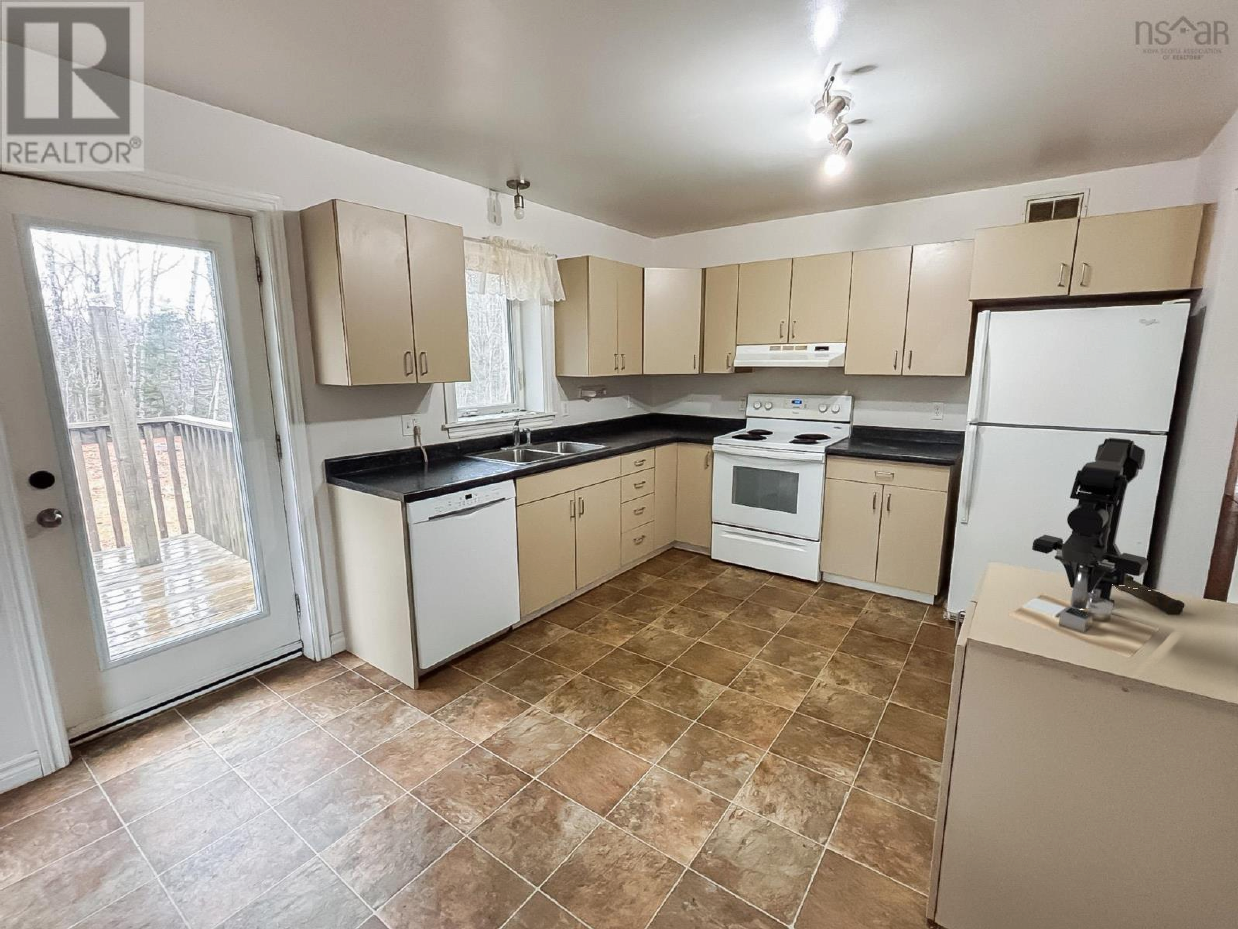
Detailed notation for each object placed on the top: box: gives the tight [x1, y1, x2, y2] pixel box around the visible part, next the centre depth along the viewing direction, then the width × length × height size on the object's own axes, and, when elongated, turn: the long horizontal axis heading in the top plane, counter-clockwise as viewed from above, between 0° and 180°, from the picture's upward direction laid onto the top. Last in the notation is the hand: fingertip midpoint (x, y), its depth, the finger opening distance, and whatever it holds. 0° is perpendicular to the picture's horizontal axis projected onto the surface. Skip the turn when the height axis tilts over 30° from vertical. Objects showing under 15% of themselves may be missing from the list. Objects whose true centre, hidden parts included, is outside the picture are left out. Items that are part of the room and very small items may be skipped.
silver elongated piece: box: [1059, 588, 1114, 634], centre depth 125 cm, size 16×7×6 cm, turn 123°
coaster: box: [1023, 597, 1066, 617], centre depth 132 cm, size 6×6×1 cm
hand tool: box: [1112, 573, 1186, 616], centre depth 139 cm, size 19×4×5 cm, turn 177°
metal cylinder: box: [1070, 563, 1094, 609], centre depth 121 cm, size 3×3×10 cm
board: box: [1007, 593, 1160, 658], centre depth 125 cm, size 20×22×2 cm
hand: (1081, 589), depth 121 cm, fingers closed on metal cylinder, 3 cm apart
